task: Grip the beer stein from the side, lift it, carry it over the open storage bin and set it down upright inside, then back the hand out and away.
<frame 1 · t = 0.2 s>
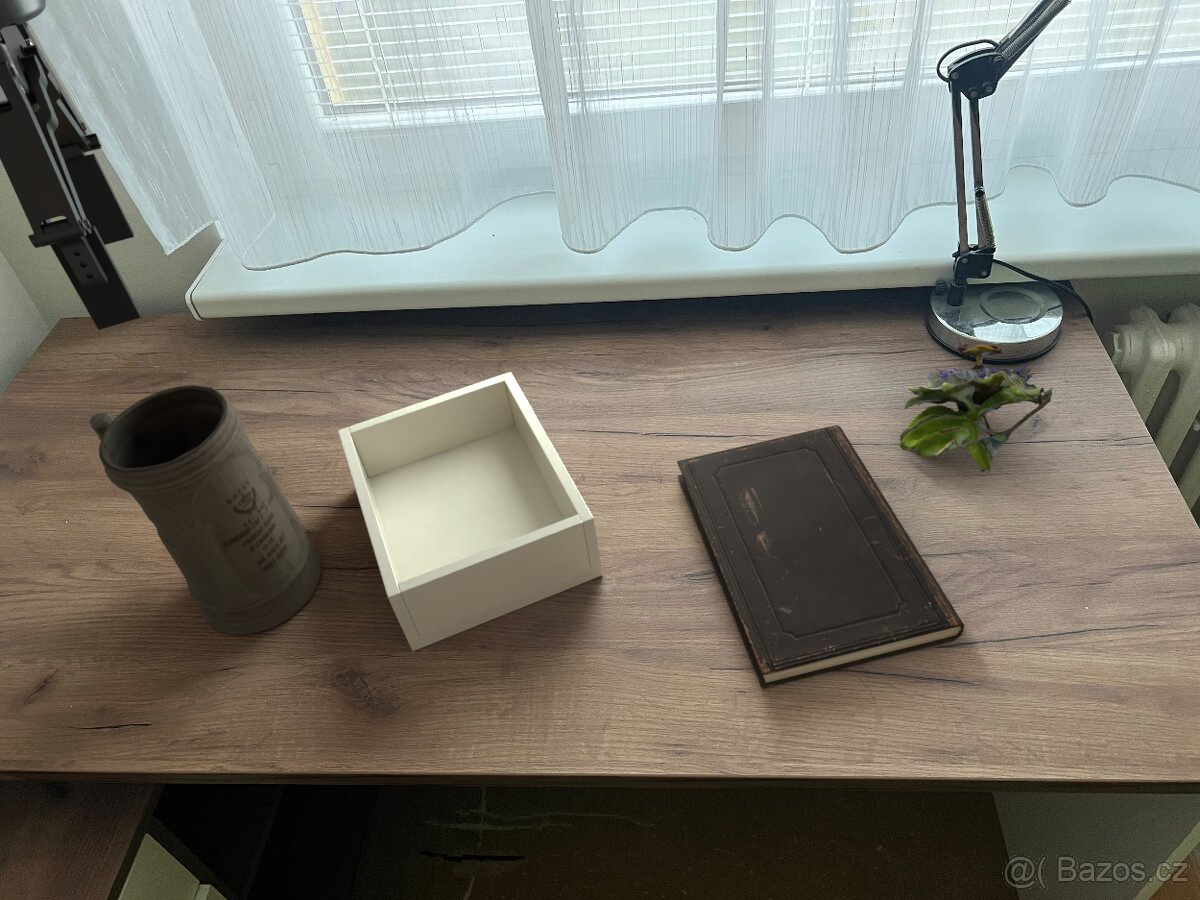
hand: (118, 278, 64), 28 cm above the table, tool pointing down, fingers open, 13 cm apart
passion flower: (967, 444, 82), on the table
hardcover book: (805, 551, 75), on the table
beer stein: (240, 581, 79), on the table
open storage bin: (474, 527, 80), on the table
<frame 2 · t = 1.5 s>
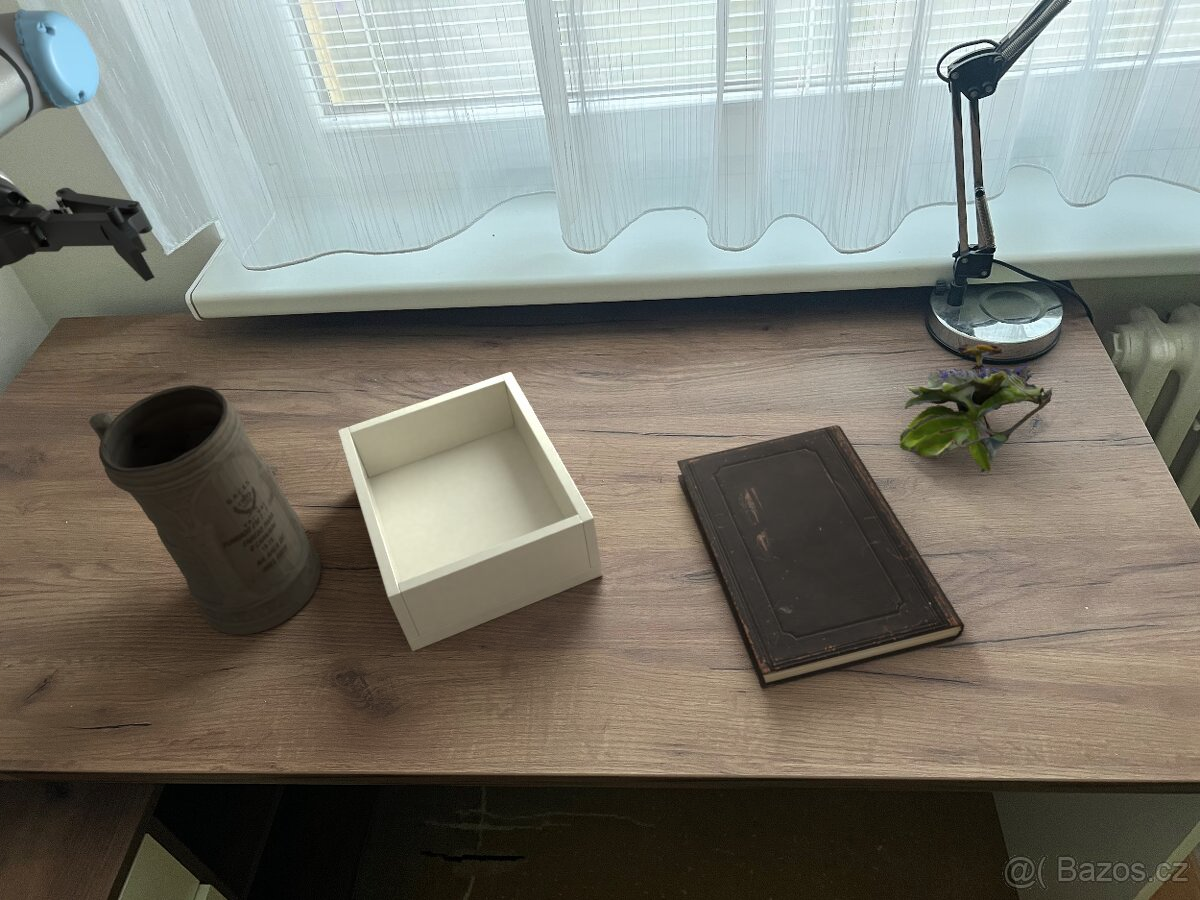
hand: (56, 305, 66), 26 cm above the table, tool horizontal, fingers open, 13 cm apart
nothing on the table moved.
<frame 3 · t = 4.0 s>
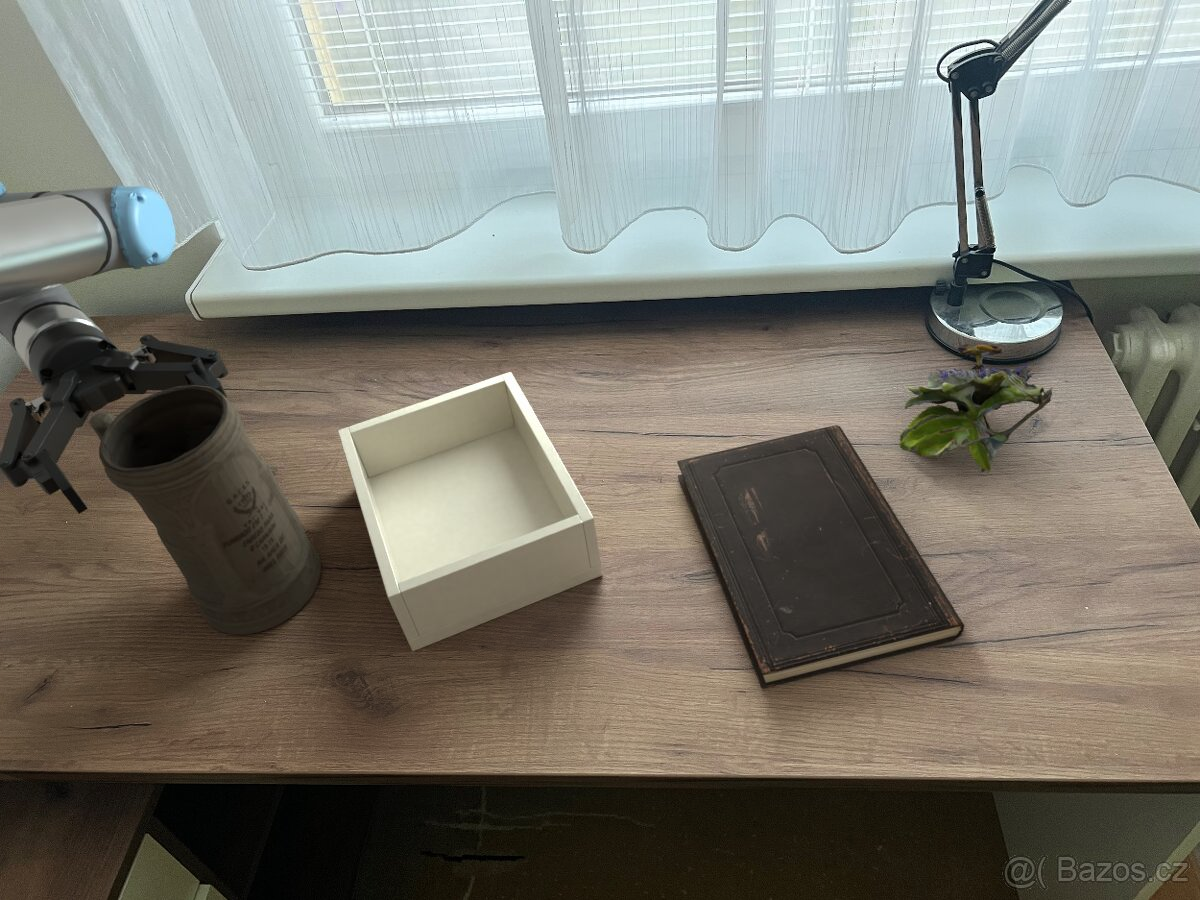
hand: (154, 456, 75), 11 cm above the table, tool horizontal, fingers open, 13 cm apart
nothing on the table moved.
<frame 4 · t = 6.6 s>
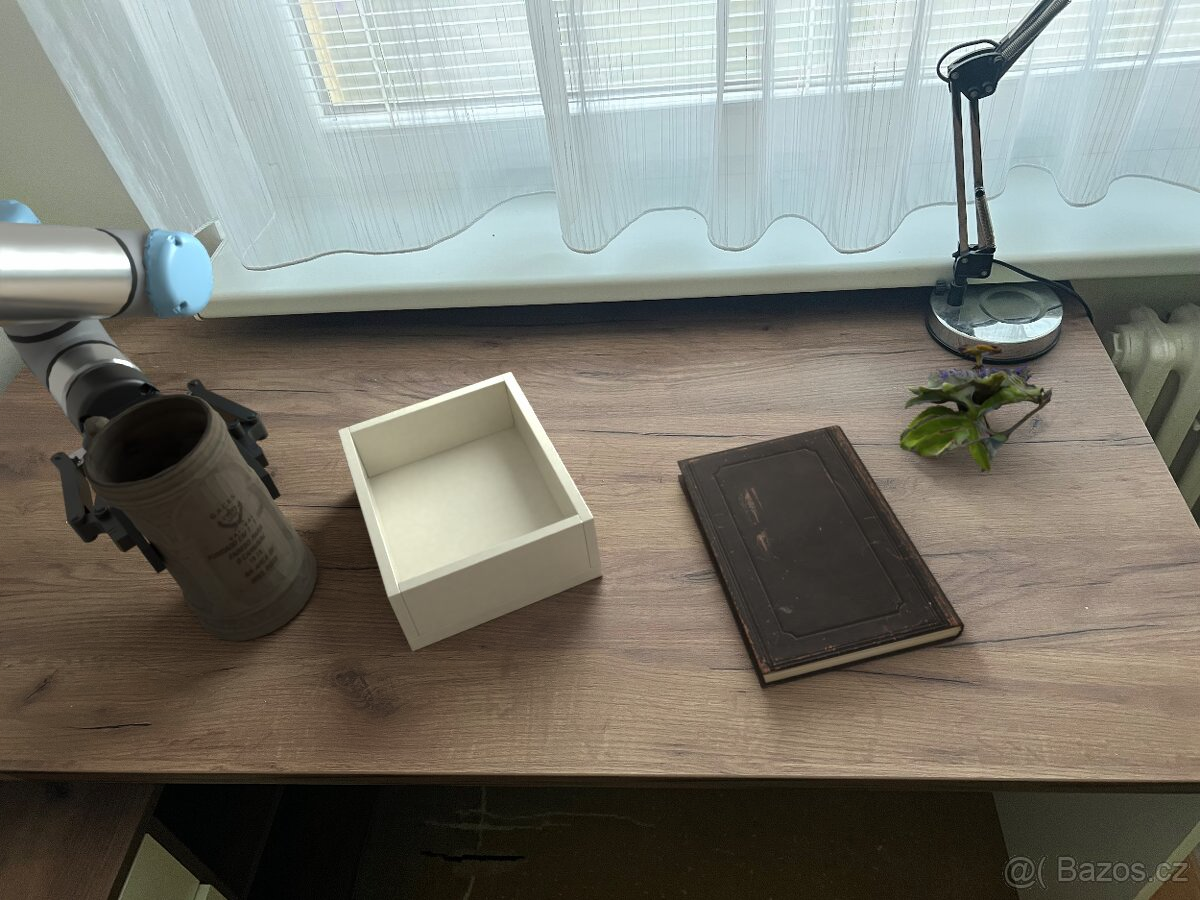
hand: (214, 522, 68), 11 cm above the table, tool horizontal, fingers closed on beer stein, 9 cm apart
beer stein: (238, 583, 78), on the table, touching gripper
everything else where it was.
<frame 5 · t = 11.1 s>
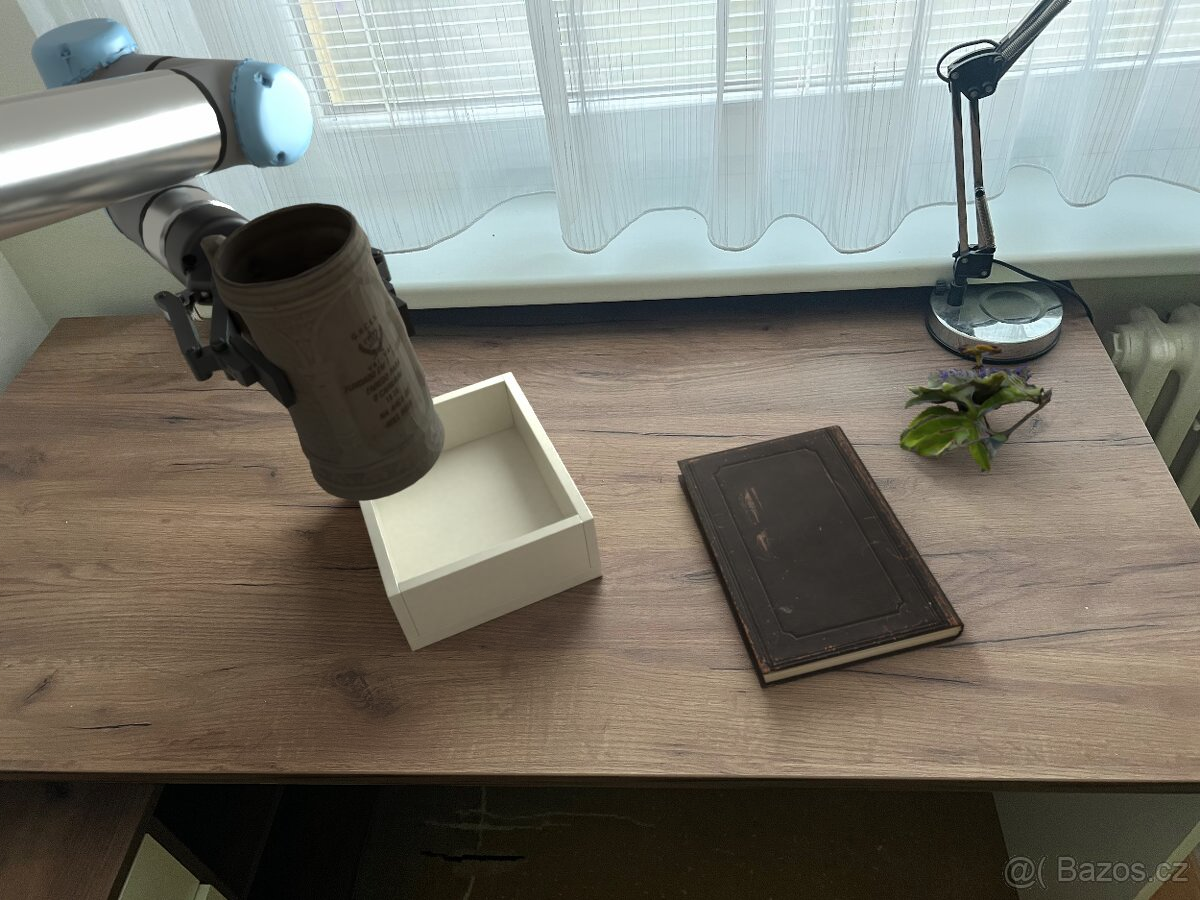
hand: (347, 354, 60), 24 cm above the table, tool horizontal, fingers closed on beer stein, 9 cm apart
beer stein: (355, 446, 70), point 13 cm above the table, touching gripper
everything else where it was.
when the fingers open (13 cm above the table, at t = 15.5 s): beer stein stays where it is, resting on open storage bin.
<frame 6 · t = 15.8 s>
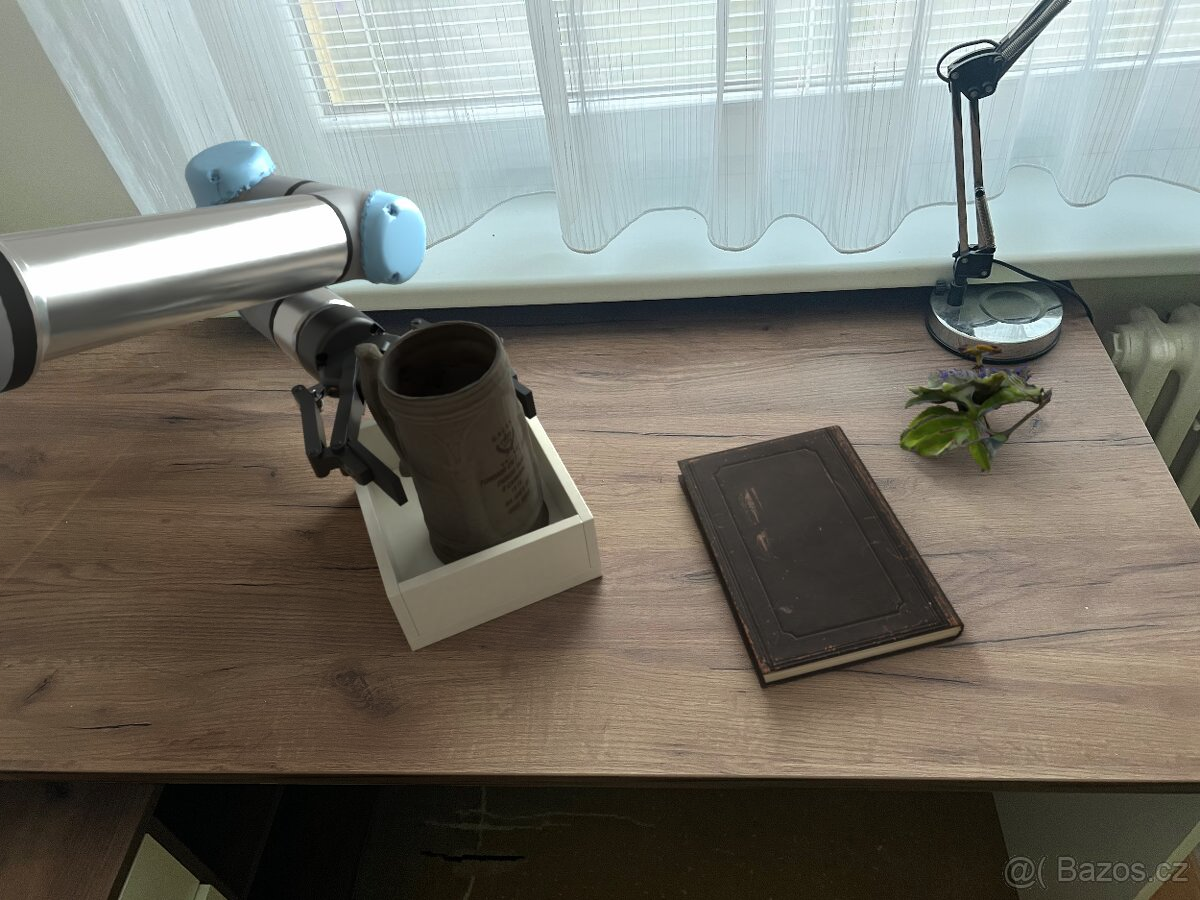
hand: (468, 447, 69), 13 cm above the table, tool horizontal, fingers open, 12 cm apart
beer stein: (467, 523, 79), point 1 cm above the table, touching open storage bin
everything else where it was.
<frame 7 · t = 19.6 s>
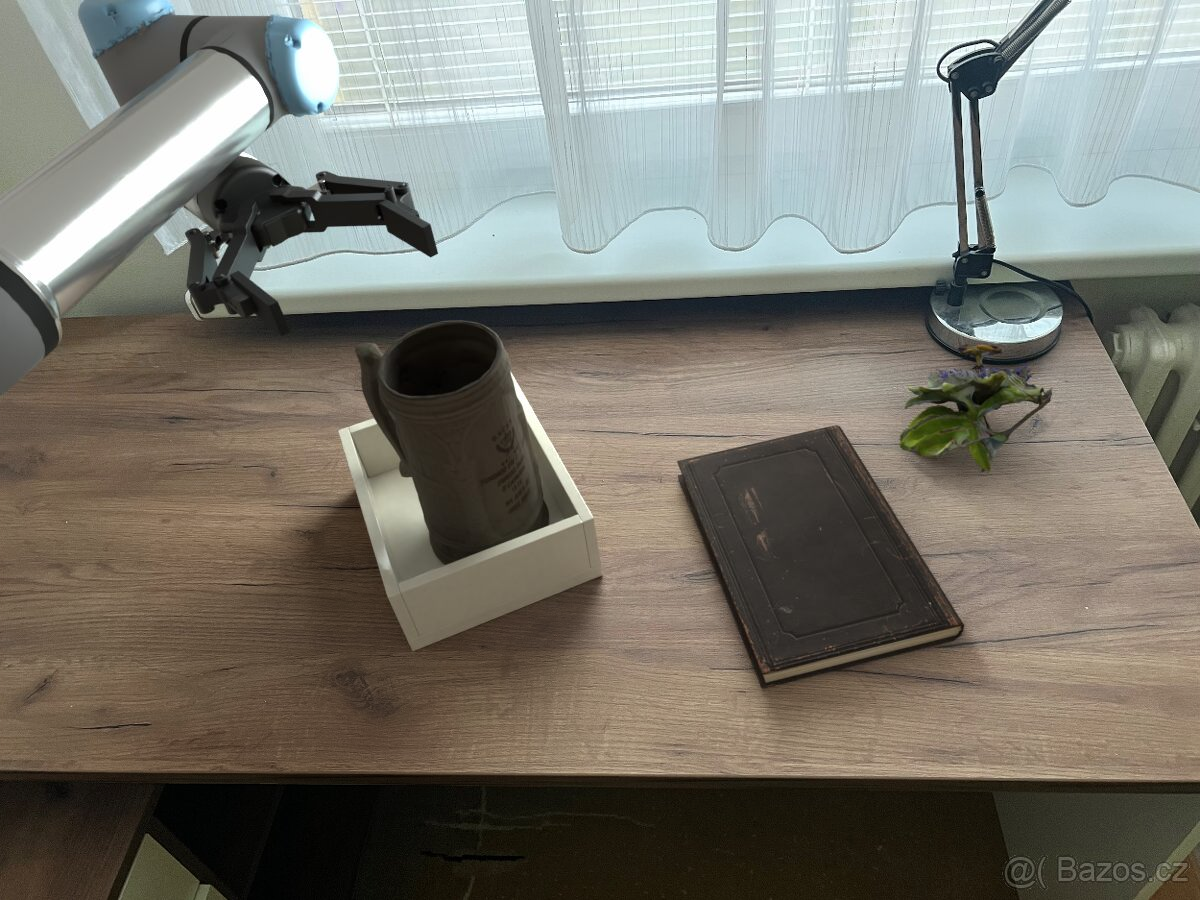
hand: (358, 278, 67), 24 cm above the table, tool horizontal, fingers open, 13 cm apart
nothing on the table moved.
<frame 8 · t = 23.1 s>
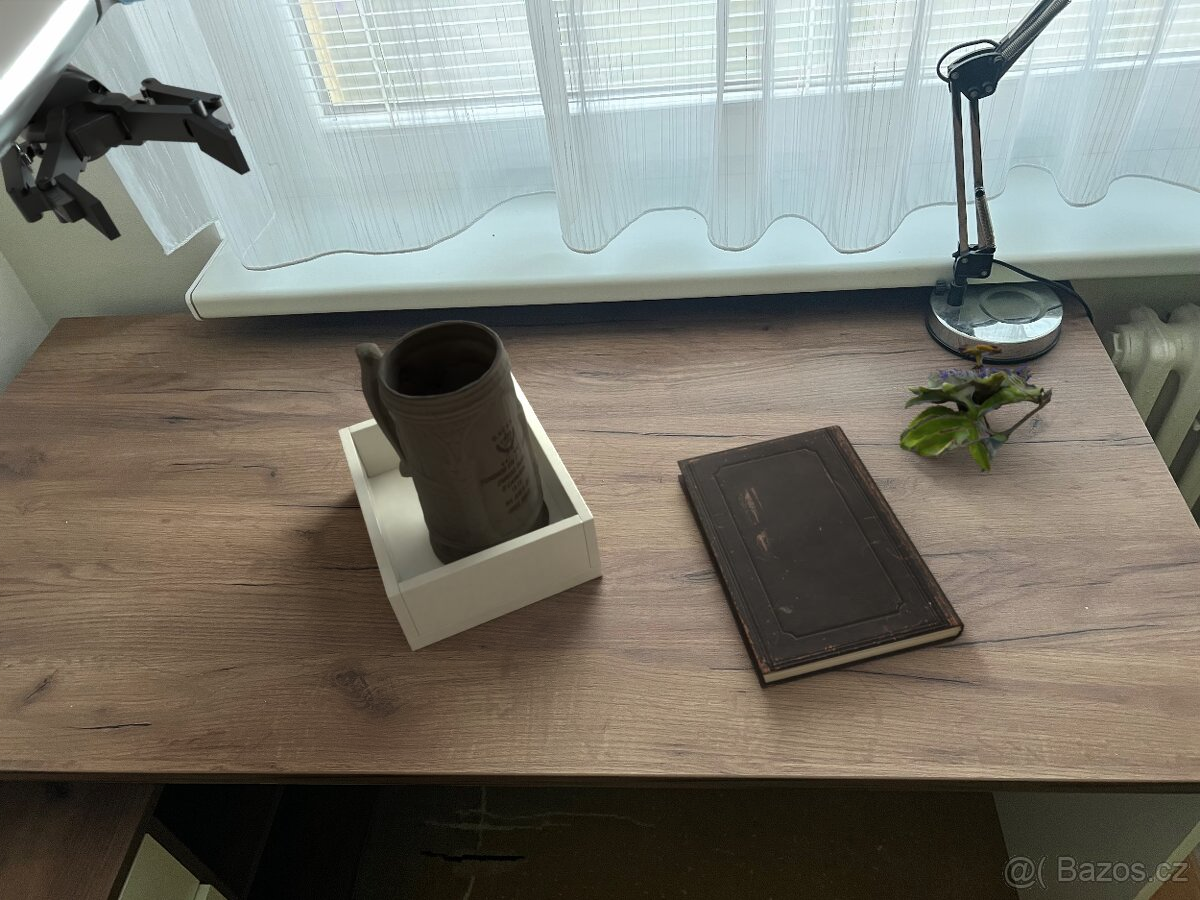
hand: (174, 187, 61), 33 cm above the table, tool horizontal, fingers open, 9 cm apart
nothing on the table moved.
at the end: beer stein inside the target area in the open storage bin (0.7 cm from its centre), point 1.3 cm above the open storage bin's base; beer stein tilted 0°; the gripper is holding nothing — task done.
